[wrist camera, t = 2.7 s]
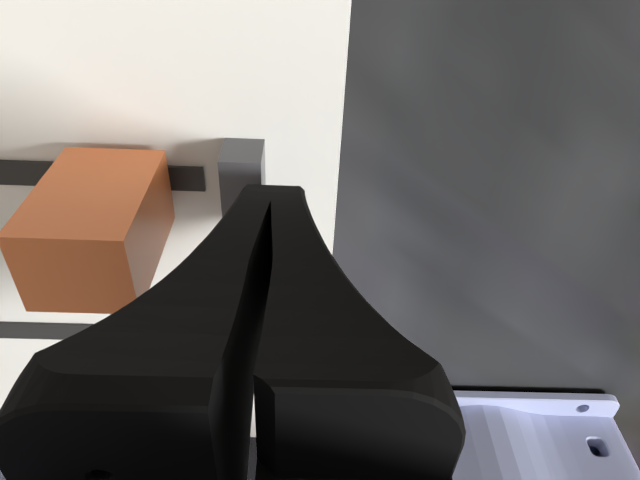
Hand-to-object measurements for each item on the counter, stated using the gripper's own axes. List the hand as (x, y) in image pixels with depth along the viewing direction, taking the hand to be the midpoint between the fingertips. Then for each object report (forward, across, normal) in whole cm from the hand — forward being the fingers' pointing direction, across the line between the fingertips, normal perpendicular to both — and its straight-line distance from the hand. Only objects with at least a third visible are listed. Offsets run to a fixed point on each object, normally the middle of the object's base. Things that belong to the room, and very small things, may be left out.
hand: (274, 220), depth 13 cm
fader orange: (+1, +4, 0) cm, 4 cm away
